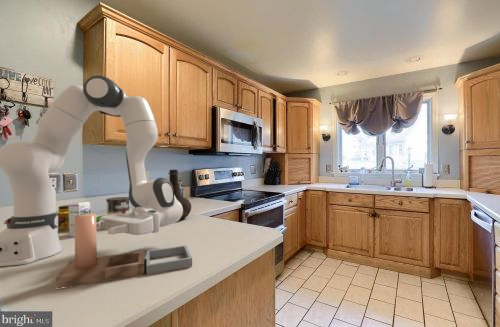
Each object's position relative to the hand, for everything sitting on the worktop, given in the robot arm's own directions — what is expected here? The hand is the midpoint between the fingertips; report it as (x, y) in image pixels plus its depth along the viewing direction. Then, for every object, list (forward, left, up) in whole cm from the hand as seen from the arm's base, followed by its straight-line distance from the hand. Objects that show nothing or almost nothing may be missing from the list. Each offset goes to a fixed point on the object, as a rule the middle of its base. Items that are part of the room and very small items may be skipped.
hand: (100, 229), depth 70 cm
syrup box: (-15, +47, -12) cm, 51 cm away
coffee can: (-1, +57, -12) cm, 58 cm away
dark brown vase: (+27, +60, -12) cm, 67 cm away
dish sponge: (-11, +73, -13) cm, 75 cm away
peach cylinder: (-3, -2, -9) cm, 10 cm away
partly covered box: (+2, -2, -12) cm, 12 cm away
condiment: (-23, +59, -12) cm, 64 cm away
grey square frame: (+19, -2, -12) cm, 22 cm away
